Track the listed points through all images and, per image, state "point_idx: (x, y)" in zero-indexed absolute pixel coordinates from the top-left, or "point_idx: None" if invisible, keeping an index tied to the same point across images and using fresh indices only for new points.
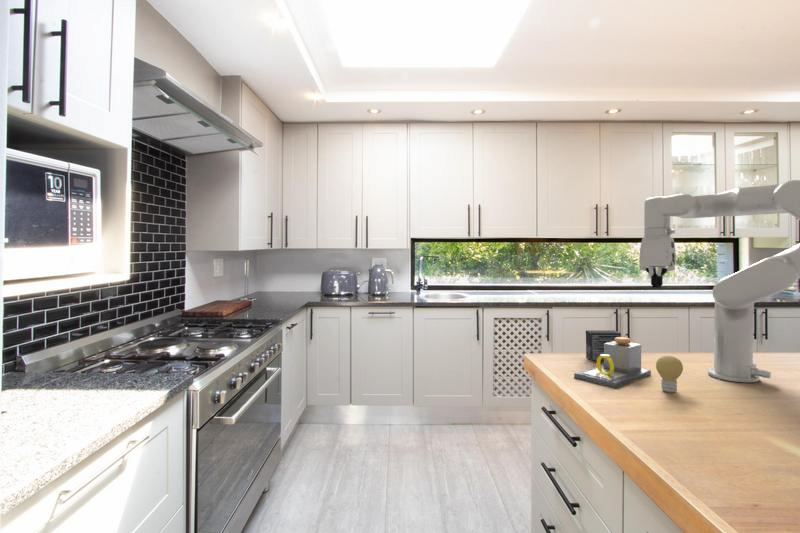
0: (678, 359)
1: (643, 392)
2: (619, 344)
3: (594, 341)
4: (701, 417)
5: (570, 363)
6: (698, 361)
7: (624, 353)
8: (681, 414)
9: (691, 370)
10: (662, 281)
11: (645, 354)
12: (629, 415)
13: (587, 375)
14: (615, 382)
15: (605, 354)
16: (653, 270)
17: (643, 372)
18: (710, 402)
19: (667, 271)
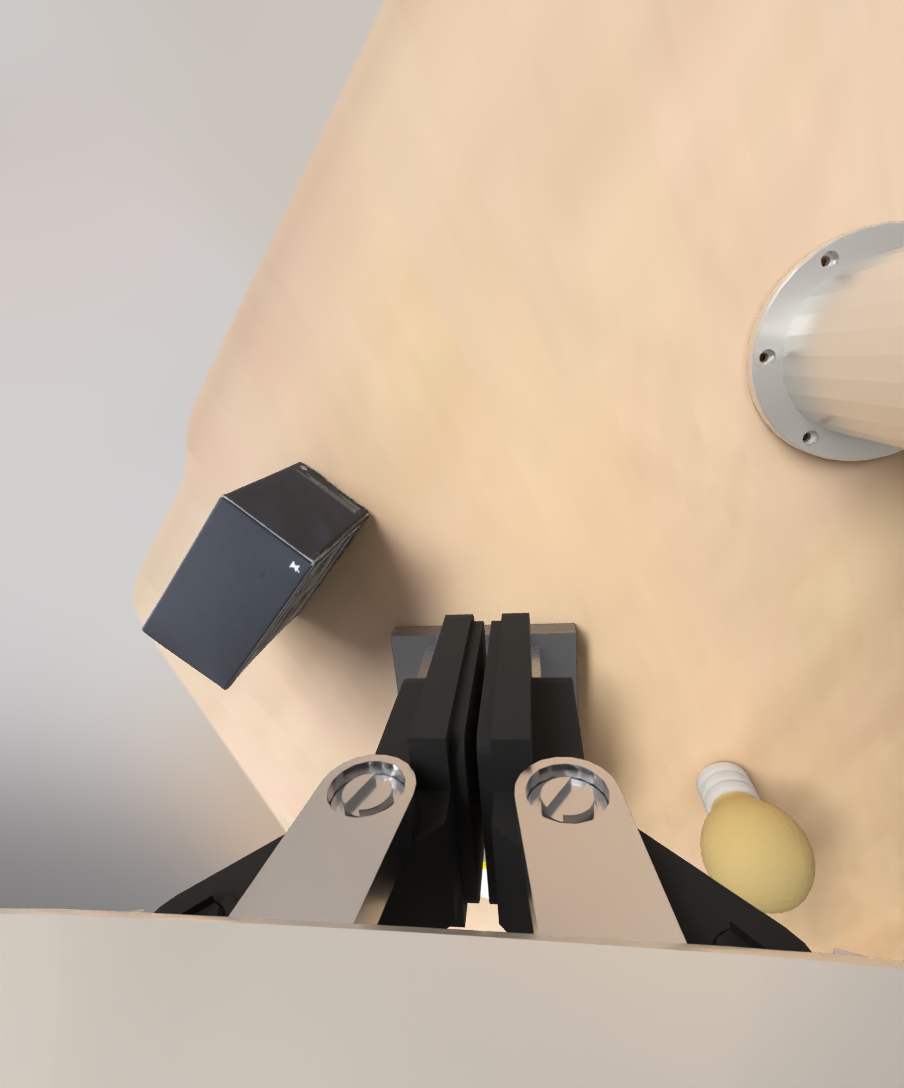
0: (807, 876)
1: (663, 843)
2: None
3: (258, 652)
4: (879, 930)
5: (276, 709)
6: (612, 108)
7: None
8: (827, 942)
9: (665, 388)
10: (575, 708)
11: (332, 220)
12: None
13: None
14: None
15: (485, 874)
16: (317, 908)
17: (574, 691)
18: (867, 793)
19: (768, 922)
